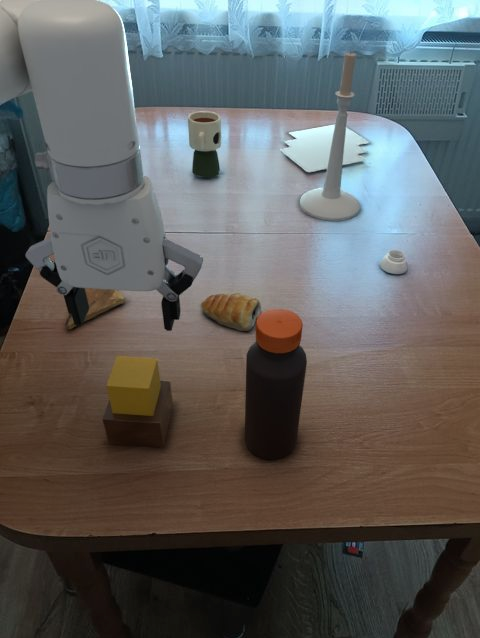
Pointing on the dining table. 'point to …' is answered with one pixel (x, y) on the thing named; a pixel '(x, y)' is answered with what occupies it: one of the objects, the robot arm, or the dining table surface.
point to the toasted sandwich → (98, 303)
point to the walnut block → (141, 423)
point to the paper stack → (321, 147)
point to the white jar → (394, 262)
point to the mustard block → (134, 385)
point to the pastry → (233, 310)
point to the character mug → (205, 142)
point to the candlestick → (335, 163)
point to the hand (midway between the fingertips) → (126, 319)
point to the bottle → (274, 384)
